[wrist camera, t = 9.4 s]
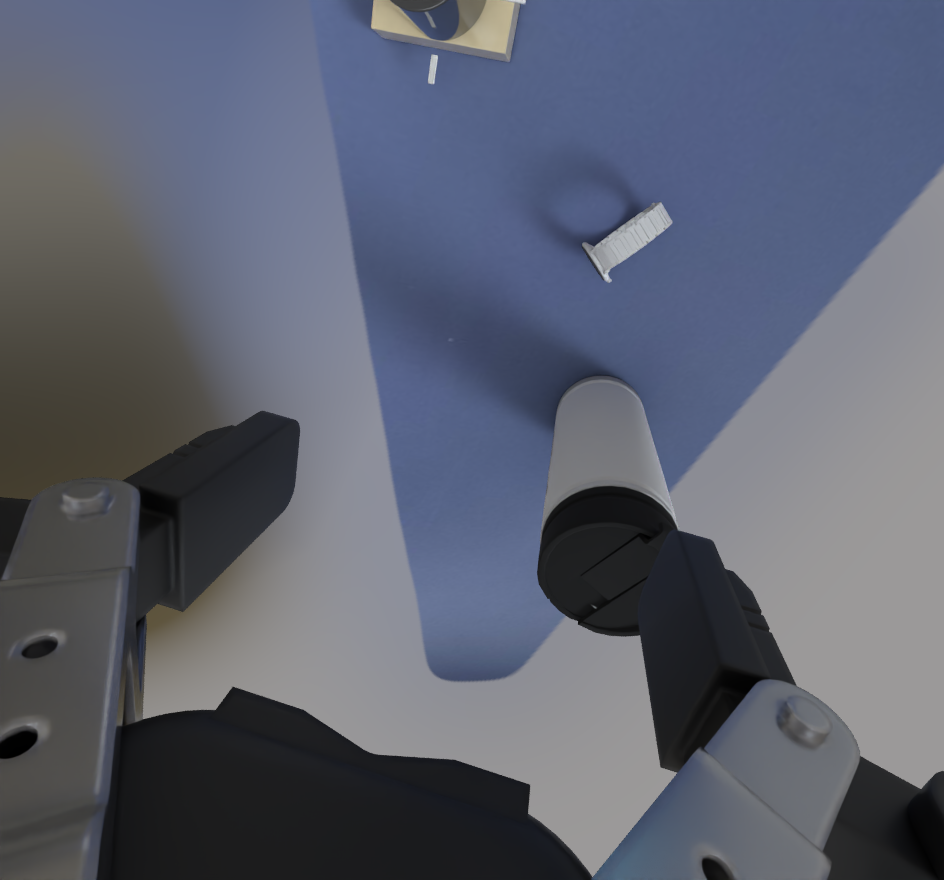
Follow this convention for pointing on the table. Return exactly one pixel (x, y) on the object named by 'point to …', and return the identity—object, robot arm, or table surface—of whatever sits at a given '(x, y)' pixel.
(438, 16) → the hob knob
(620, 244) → the wristwatch
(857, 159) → the table surface
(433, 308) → the table surface
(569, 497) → the travel mug
